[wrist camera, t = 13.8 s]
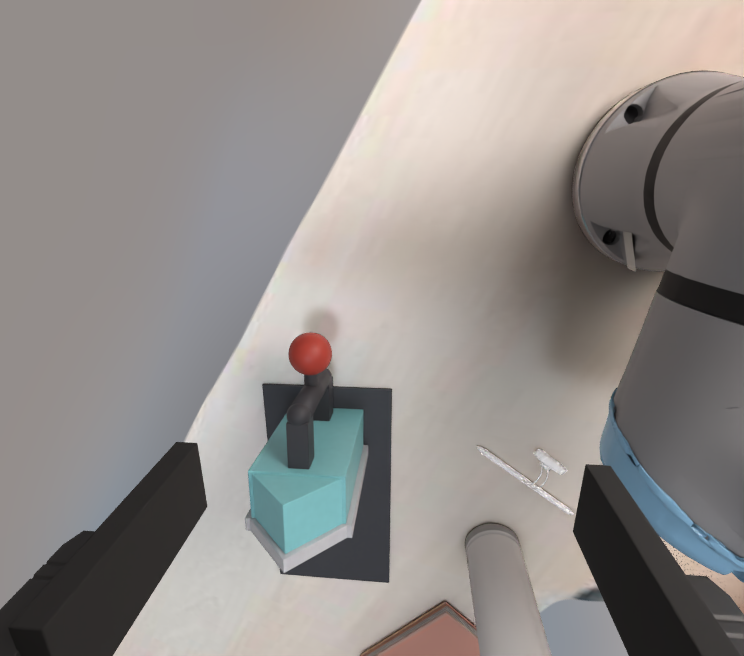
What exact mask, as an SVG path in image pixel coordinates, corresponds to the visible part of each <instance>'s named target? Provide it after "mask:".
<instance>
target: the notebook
mask: <svg viewBox="0 0 744 656" xmlns="http://www.w3.org/2000/svg"><path fill="white" fill-rule="evenodd" d="M360 656H480V651H479V643H478V636H477V629H476V627H475V626H474V625H473V624H472V623H471V622H469V621H468V620H467V619H466V618H465V617H463V616H462V615H461V614H460V613H459V612H457V611H456V610H455V609H454V608H453V607H451V606H450V605H449V604H448V603H447V602H446V601H445V602H444V603H442V604H440V605H439V606H437V607H436V608H434V609H432V610H431V611H429V612H428V613H426V614H424V615H423V616H421V617H420V618H418V619H416V620H415V621H413V622H412V623H410V624H408V625H407V626H405V627H404V628H402V629H400V630H399V631H397V632H396V633H394V634H392V635H391V636H389V637H388V638H386V639H384V640H383V641H381V642H380V643H378V644H376V645H375V646H373V647H372V648H370V649H368V650H367V651H365V652H364V653H362V654H361V655H360Z"/></svg>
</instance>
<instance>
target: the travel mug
mask: <svg viewBox="0 0 744 656" xmlns="http://www.w3.org/2000/svg"><path fill="white" fill-rule="evenodd" d="M465 549H466V556H467V564H468V571H469V578H470V586H471V593H472V600H473V607H474V615H475V622H476V629H477V636H478V643H479V651H480V656H552V655H551V652H550V648H549V645H548V641H547V638H546V634H545V631H544V627H543V624H542V620H541V617H540V613H539V610H538V606H537V603H536V599H535V596H534V592H533V589H532V586H531V582H530V579H529V575H528V572H527V568H526V565H525V561H524V558H523V554H522V551H521V547H520V544H519V541H518V538H517V536H516V534H515V533H514V532H513V531H512V530H510V529H509V528H507V527H505V526H503V525H500V524H484V525H480V526H478V527H476V528H474V529H473V530H472V531H471V532H470V533H469V534H468V536H467V538H466V540H465Z"/></svg>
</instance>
